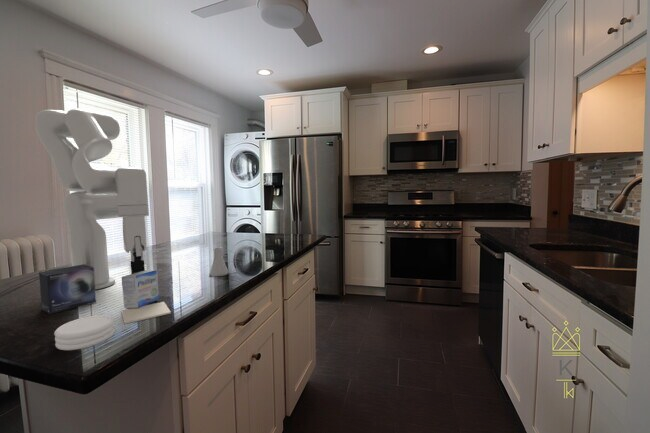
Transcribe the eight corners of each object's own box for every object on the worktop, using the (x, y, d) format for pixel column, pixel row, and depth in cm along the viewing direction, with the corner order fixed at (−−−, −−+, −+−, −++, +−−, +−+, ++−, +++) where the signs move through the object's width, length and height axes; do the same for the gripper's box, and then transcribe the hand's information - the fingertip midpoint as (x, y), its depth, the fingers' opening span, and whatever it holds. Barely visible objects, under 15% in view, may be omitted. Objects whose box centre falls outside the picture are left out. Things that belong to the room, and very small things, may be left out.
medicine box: (137, 308, 81) (135, 275, 81) (123, 308, 82) (120, 276, 82) (159, 299, 89) (157, 269, 89) (146, 299, 90) (143, 269, 90)
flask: (225, 276, 112) (224, 249, 112) (205, 277, 112) (204, 250, 112) (231, 271, 120) (230, 246, 119) (213, 272, 120) (211, 246, 119)
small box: (49, 315, 79) (46, 275, 78) (40, 310, 83) (36, 272, 82) (97, 302, 88) (94, 266, 87) (87, 298, 92) (84, 263, 91)
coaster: (92, 327, 72) (91, 312, 72) (125, 332, 69) (124, 316, 69) (43, 348, 63) (41, 331, 62) (79, 354, 60) (77, 337, 60)
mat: (121, 311, 81) (121, 310, 81) (164, 303, 87) (163, 301, 86) (124, 324, 73) (124, 322, 73) (170, 313, 79) (170, 311, 79)
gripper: (116, 211, 92) (120, 271, 94) (119, 213, 80) (125, 282, 82) (144, 209, 97) (149, 267, 98) (152, 211, 85) (157, 277, 86)
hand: (138, 274), depth 90 cm, fingers closed
